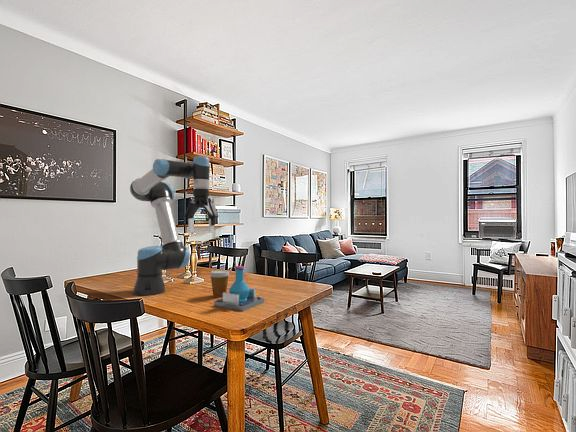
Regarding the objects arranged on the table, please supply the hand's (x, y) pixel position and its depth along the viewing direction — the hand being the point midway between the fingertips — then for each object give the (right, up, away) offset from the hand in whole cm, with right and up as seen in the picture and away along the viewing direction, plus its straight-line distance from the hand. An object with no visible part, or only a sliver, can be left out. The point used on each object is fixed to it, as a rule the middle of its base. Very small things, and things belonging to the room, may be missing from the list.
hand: (200, 232), depth 158 cm
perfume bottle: (+21, -30, -12) cm, 38 cm away
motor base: (+21, -32, -12) cm, 40 cm away
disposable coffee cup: (+8, -32, +3) cm, 33 cm away
